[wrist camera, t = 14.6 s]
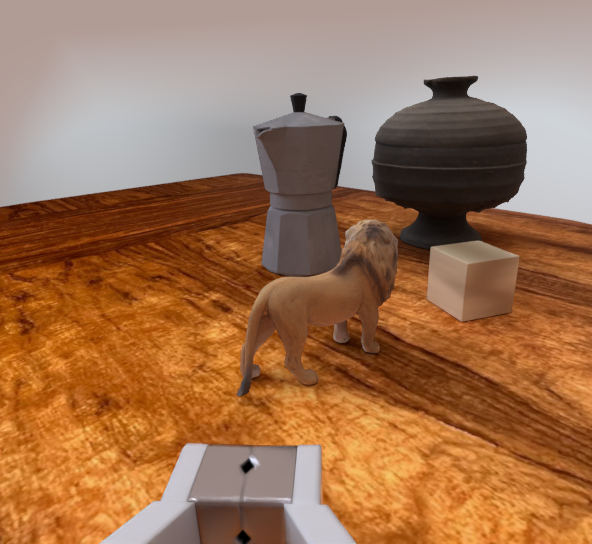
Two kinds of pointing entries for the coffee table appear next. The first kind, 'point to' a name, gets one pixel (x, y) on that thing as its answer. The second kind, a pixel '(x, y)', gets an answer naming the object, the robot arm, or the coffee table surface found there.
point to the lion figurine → (325, 301)
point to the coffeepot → (301, 190)
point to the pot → (448, 161)
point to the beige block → (472, 279)
